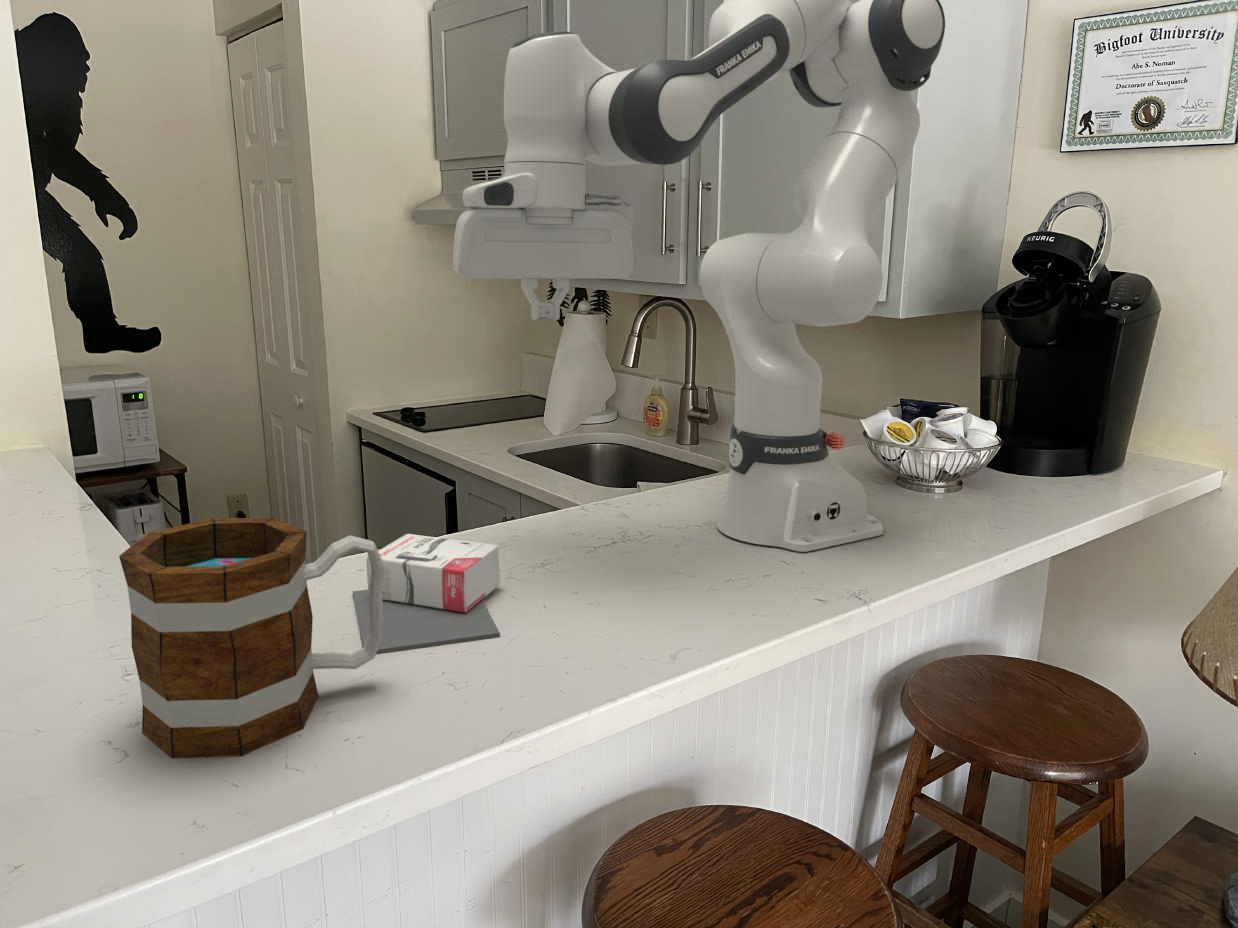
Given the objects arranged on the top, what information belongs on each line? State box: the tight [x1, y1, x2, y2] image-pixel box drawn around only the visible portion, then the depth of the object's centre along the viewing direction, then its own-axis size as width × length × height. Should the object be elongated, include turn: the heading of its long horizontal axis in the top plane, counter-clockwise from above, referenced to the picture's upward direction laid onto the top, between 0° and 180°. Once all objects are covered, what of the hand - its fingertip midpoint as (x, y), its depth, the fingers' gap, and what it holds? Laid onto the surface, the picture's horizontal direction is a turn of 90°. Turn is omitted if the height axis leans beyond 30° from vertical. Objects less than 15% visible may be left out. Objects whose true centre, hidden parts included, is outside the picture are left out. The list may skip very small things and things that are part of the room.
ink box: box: [366, 533, 501, 613], centre depth 98 cm, size 9×5×12 cm
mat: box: [352, 589, 501, 655], centre depth 94 cm, size 13×15×1 cm
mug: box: [118, 517, 384, 759], centre depth 74 cm, size 20×14×15 cm
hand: (545, 319), depth 102 cm, fingers closed
